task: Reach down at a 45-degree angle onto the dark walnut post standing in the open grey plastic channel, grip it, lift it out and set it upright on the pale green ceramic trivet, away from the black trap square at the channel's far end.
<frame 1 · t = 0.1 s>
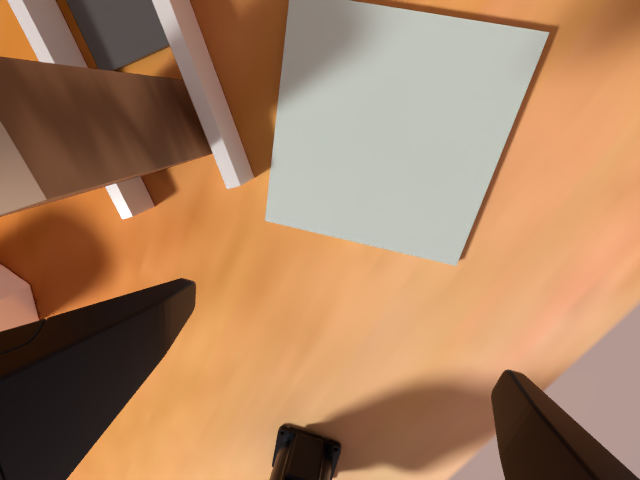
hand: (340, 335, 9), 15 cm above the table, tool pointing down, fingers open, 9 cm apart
trivet: (382, 142, 21), on the table
jar: (5, 293, 33), on the table
channel: (149, 84, 22), on the table
post: (168, 128, 23), on the table
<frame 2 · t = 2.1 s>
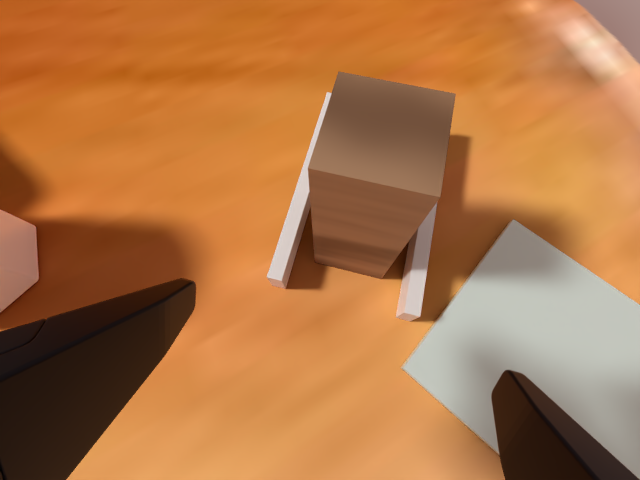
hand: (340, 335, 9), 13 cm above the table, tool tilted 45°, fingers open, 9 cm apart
trivet: (548, 358, 21), on the table
channel: (363, 204, 25), on the table
post: (355, 239, 24), on the table
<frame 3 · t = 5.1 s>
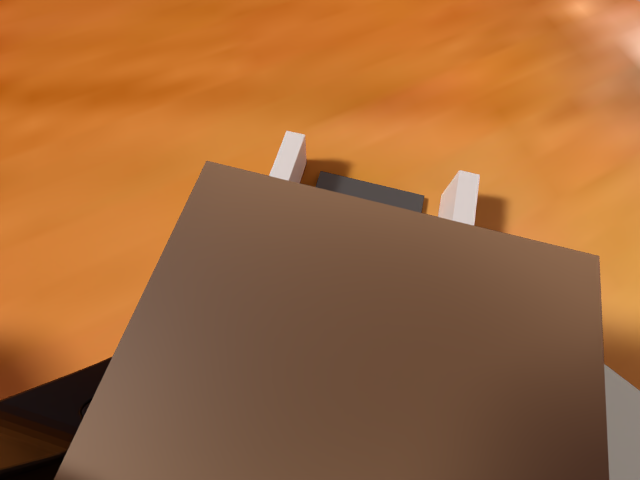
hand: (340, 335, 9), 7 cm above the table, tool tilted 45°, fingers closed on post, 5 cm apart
channel: (339, 313, 16), on the table
post: (323, 378, 15), on the table, touching gripper
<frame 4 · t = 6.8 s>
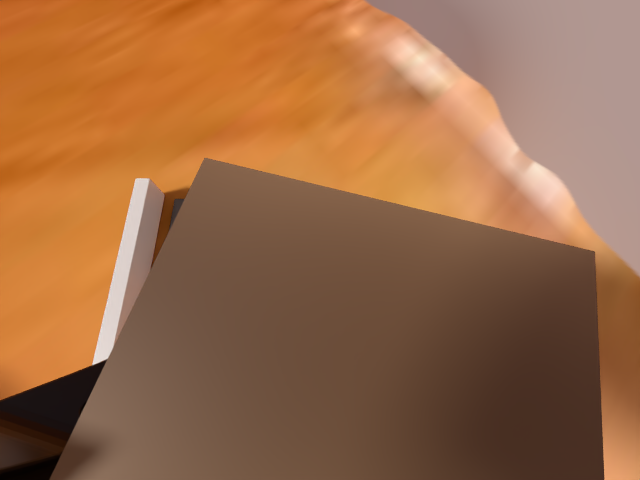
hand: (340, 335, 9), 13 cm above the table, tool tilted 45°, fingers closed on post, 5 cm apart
channel: (201, 294, 23), on the table
post: (322, 376, 15), point 7 cm above the table, touching gripper
when the fingers open (8 cm above the table, at t = 8.9 s): post stays where it is, resting on trivet.
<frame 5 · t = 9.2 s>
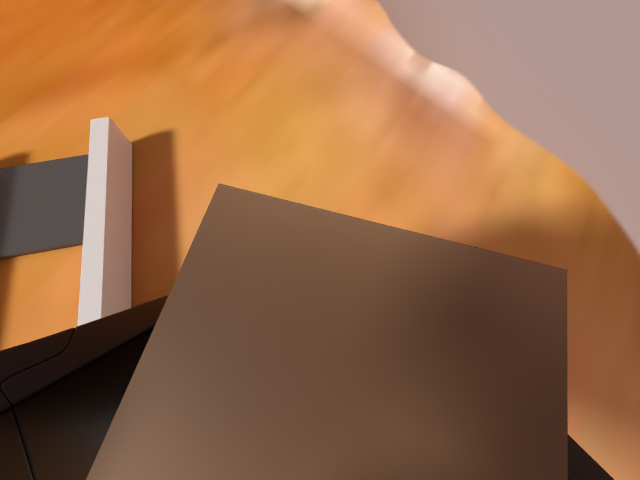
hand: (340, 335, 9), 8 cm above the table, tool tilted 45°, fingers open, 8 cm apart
channel: (37, 277, 18), on the table
post: (323, 377, 15), point 1 cm above the table, touching trivet
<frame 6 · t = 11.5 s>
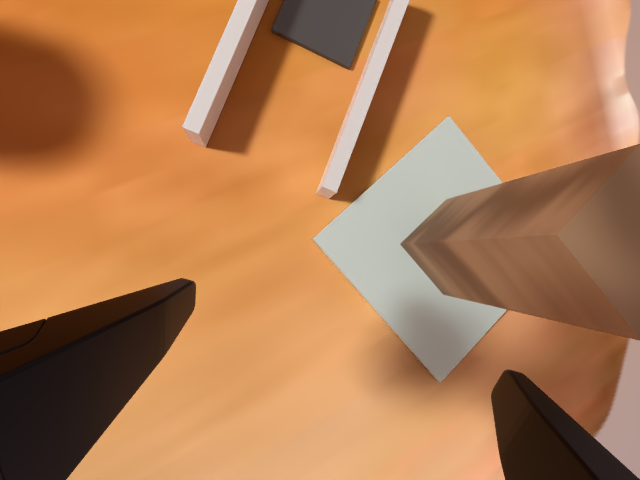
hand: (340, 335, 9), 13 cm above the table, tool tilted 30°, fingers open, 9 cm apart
trivet: (440, 246, 24), on the table
channel: (303, 69, 23), on the table
post: (444, 246, 24), point 1 cm above the table, touching trivet
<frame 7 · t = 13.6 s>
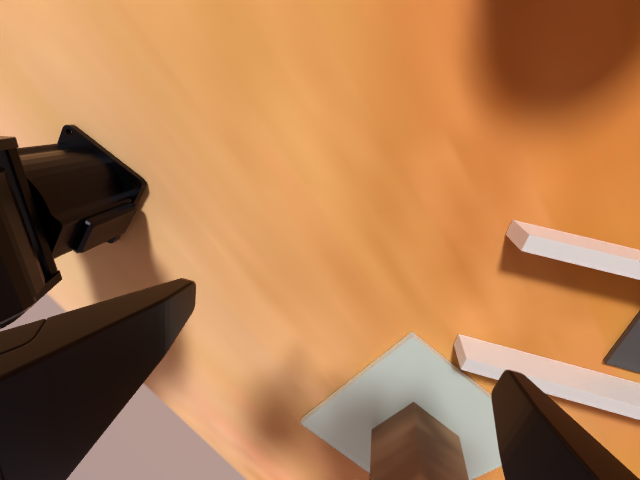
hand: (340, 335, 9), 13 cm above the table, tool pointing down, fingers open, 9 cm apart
trivet: (413, 426, 28), on the table
channel: (604, 319, 21), on the table
post: (414, 432, 27), point 1 cm above the table, touching trivet
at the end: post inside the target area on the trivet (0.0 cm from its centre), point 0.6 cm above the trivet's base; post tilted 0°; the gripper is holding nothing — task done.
